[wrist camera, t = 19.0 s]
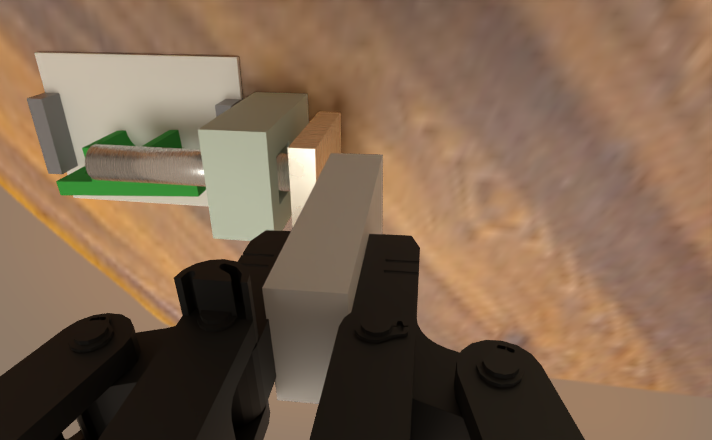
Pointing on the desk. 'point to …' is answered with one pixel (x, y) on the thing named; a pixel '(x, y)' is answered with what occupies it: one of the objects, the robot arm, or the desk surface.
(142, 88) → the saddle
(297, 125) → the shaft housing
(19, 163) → the desk surface
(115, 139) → the pipe clamp
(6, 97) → the desk surface
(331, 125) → the shaft
